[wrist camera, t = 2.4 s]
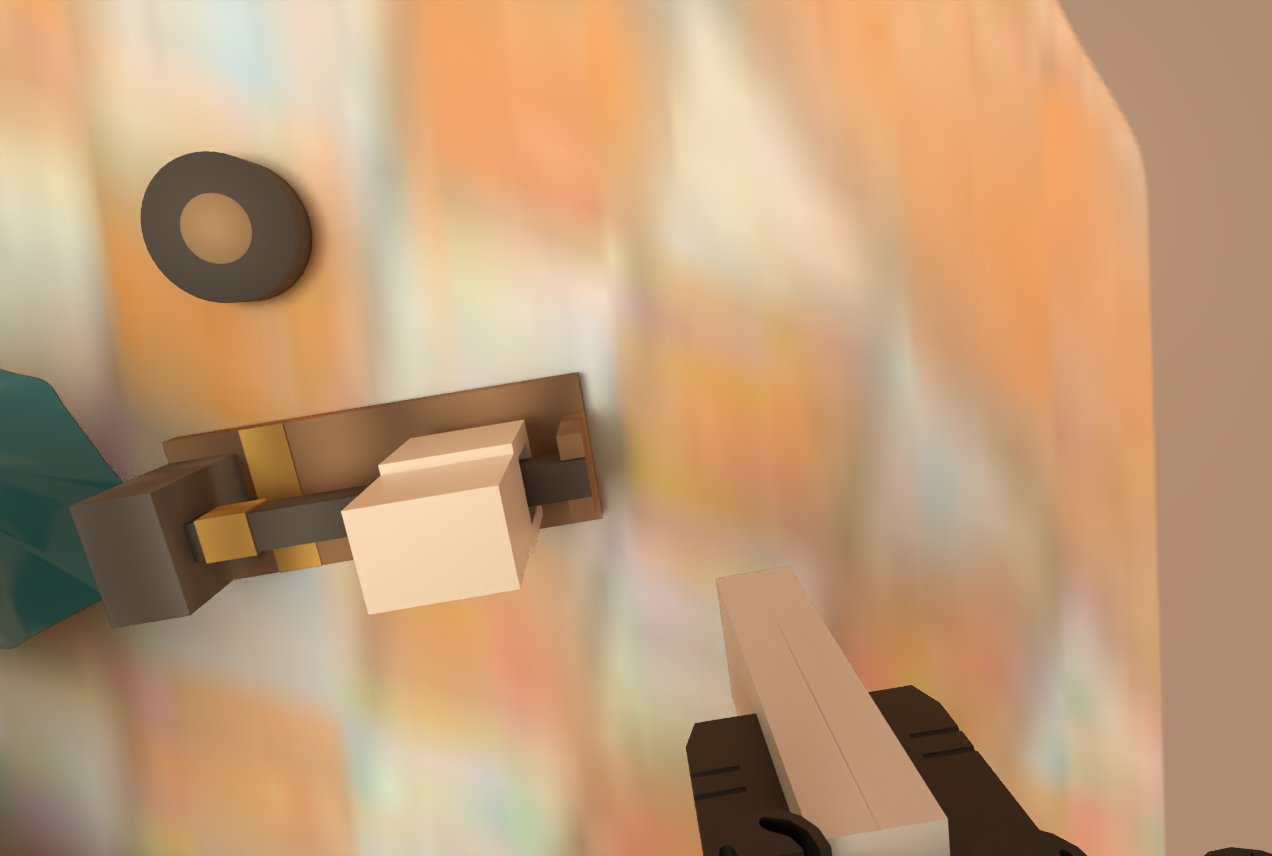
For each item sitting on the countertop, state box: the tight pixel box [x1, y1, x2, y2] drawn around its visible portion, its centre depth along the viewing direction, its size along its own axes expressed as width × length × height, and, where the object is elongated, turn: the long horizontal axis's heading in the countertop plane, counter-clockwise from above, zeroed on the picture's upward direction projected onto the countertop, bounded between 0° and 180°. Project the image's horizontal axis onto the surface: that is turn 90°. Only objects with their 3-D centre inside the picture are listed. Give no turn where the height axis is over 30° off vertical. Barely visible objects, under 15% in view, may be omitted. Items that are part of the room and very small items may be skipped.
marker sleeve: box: [341, 420, 543, 615], centre depth 26 cm, size 5×4×8 cm
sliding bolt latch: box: [69, 372, 602, 628], centre depth 29 cm, size 19×7×7 cm, turn 99°
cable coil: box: [141, 151, 312, 303], centre depth 29 cm, size 6×6×2 cm
